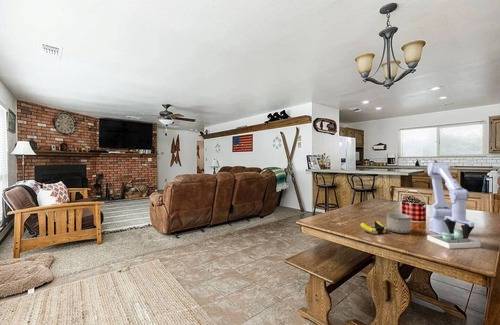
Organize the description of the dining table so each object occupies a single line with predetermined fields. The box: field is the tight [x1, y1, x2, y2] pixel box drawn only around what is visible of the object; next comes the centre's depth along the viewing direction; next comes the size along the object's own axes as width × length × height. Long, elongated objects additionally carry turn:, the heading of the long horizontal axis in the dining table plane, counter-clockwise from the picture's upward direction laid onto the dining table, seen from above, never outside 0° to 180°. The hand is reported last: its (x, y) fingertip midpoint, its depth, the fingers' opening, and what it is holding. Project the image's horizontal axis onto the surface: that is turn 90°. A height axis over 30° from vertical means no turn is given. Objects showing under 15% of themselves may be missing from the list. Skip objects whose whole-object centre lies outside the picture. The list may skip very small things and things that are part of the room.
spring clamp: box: [360, 220, 387, 235], centre depth 145 cm, size 15×6×10 cm
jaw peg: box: [453, 228, 463, 239], centre depth 124 cm, size 4×4×6 cm
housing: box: [426, 232, 482, 250], centre depth 124 cm, size 18×13×6 cm
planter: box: [386, 212, 411, 234], centre depth 145 cm, size 13×13×10 cm
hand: (458, 235), depth 124 cm, fingers open, 7 cm apart
